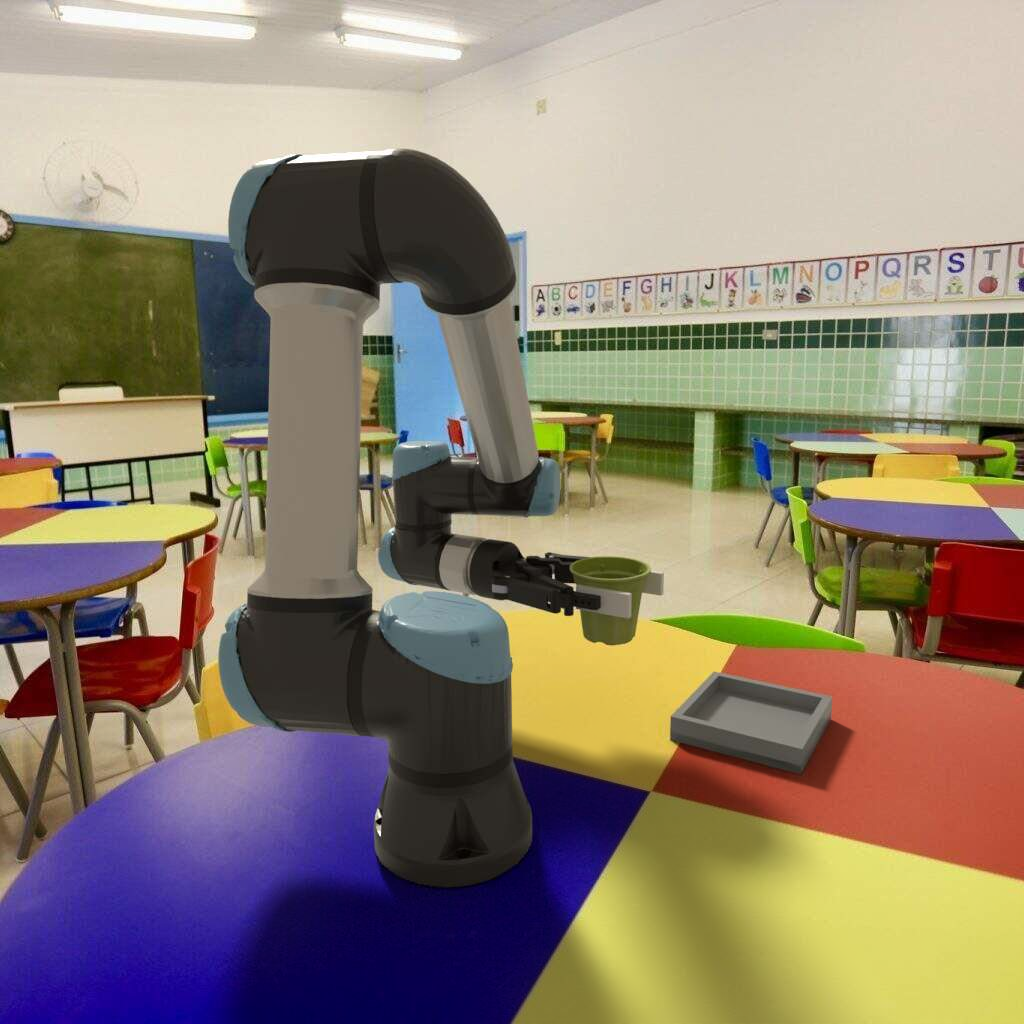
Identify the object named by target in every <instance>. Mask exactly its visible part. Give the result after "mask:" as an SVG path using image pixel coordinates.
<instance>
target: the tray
mask: <svg viewBox="0 0 1024 1024" xmlns="http://www.w3.org/2000/svg"><path fill="white" fill-rule="evenodd" d="M832 711H833V695H832V696H831V695H826V694H822V693H818V692H817V693H816V692H813V691H807V690H802V689H799V688H794V687H793V688H792V687H789V686H785V685H780V684H779V685H778V684H774V683H769V682H765V681H760V680H755V679H751V678H746V677H742V676H738V675H734V674H733V675H732V674H728V673H723V672H718V671H713V672H712V673H711V674H710V675H709V676H708V677H707V678H706V679H705V680H704V681H703V682H702V683H701V684H700V685H699V686H698V687H697V688H696V689H695V691H694V692H692V693H691V695H689V697H687V699H685V701H684V702H683V703H682V704H681V705H680V706H679V707H678V708H677V709H676V710H675V711H674V712H673V713H672V714H671V715H670V727H669V728H670V729H669V735H670V736H669V740H670V741H674V742H678V743H681V744H684V745H689V746H692V747H696V748H700V749H704V750H708V751H711V752H715V753H719V754H722V755H726V756H729V757H734V758H737V759H741V760H744V761H749V762H753V763H756V764H761V765H764V766H766V767H771V768H775V769H778V770H782V771H783V770H784V771H787V772H791V773H794V774H797V775H802V773H803V772H804V769H805V767H806V765H807V764H808V763H809V760H810V759H811V757H812V754H813V753H814V751H815V749H816V748H817V745H818V744H819V742H820V740H821V738H822V736H823V735H824V733H825V732H826V729H827V727H828V726H829V724H830V723H831V720H832Z"/></svg>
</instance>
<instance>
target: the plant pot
mask: <svg viewBox="0 0 1024 1024" xmlns="http://www.w3.org/2000/svg"><path fill="white" fill-rule="evenodd" d="M589 557H590V558H584V559H581V560H577V561H575V562H573V563H572V564H571V565H570V572H571V573H572V574H573V577H574V582H575V586H577V585H585V586H591V587H597V588H603V589H609V590H615V591H622V592H628V593H632V600H631V617H630V618H629V619H628V618H622V617H617V616H612V615H606V614H601V613H595V612H590V611H584V610H579V613H580V620H581V621H580V622H581V629H582V635H583V638H584V639H585V640H586V641H589V642H590V643H593V644H596V643H602V644H604V645H606V646H619V645H626V644H628V643H631V641H632V640H633V639H634V638H635V637H636V631H637V625H638V620H639V619H638V618H639V614H640V607H641V600H642V595H643V593H642V590H643V586H644V585H645V583H646V578H647V576H648V575H649V574H650V572H651V570H652V568H651V566H650V564H648V563H647V562H646V561H644V560H640V559H636V558H631V557H626V556H618V555H617V556H614V555H605V556H589Z"/></svg>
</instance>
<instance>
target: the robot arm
mask: <svg viewBox="0 0 1024 1024" xmlns="http://www.w3.org/2000/svg"><path fill="white" fill-rule="evenodd" d="M229 204H230V205H229V210H228V221H227V222H228V223H227V224H228V225H227V226H228V227H227V229H228V230H227V231H228V232H227V233H228V240H229V247H230V249H232V250H234V255H233V258H232V260H233V262H234V265H235V267H236V268H237V270H238V272H239V273H240V275H241V277H243V279H244V280H245V281H246V282H247V283H249V284H250V285H252V286H254V290H253V295H254V296H253V297H254V300H255V301H256V302H257V303H258V304H259V305H260V307H262V308H263V310H265V312H266V313H267V314H268V315H269V318H270V329H269V330H270V333H269V366H268V367H269V370H268V371H269V372H268V374H269V375H268V381H269V382H268V413H267V415H268V416H267V417H268V420H267V421H268V422H267V456H266V457H267V460H266V462H267V463H266V495H265V496H266V503H265V505H266V506H265V514H266V515H265V544H264V545H265V547H264V554H265V555H264V570H263V572H262V573H261V574H260V575H259V576H258V577H257V579H255V581H253V582H252V584H250V585H249V587H247V595H246V596H247V598H246V599H247V600H246V601H247V602H246V603H244V604H243V605H240V606H238V607H237V608H236V609H234V610H233V612H231V614H230V615H229V616H228V617H227V621H226V622H225V624H224V628H225V632H223V633H222V634H221V636H220V641H219V647H218V654H217V655H218V657H217V659H218V672H219V673H218V674H219V679H220V684H221V687H222V691H223V694H224V696H225V699H226V701H227V702H228V704H229V705H230V706H229V707H231V709H232V710H233V711H235V712H236V713H237V715H238V716H239V718H240V719H242V720H243V721H245V722H246V723H248V724H251V725H254V726H260V727H265V728H266V727H267V728H270V729H271V728H272V729H276V730H278V731H281V732H288V733H293V732H296V731H297V732H299V731H301V732H311V733H321V734H322V733H323V734H330V735H342V736H356V737H367V738H368V737H370V738H379V739H385V740H386V742H387V743H386V744H387V749H388V750H387V751H388V752H387V753H388V770H387V774H386V777H385V780H384V783H383V784H384V785H383V788H382V791H381V794H380V798H379V801H378V804H377V805H378V806H377V809H376V812H375V815H374V819H373V820H374V821H373V839H374V841H373V842H374V850H375V854H376V857H377V856H378V857H377V859H378V858H379V859H378V860H379V862H380V863H381V865H382V866H383V865H384V866H385V867H386V868H388V869H389V870H390V871H392V872H393V873H394V874H395V875H394V874H393V873H392V874H393V875H394V876H396V875H397V876H396V877H398V876H399V877H398V878H400V877H401V878H400V879H402V878H404V879H406V880H405V881H407V880H409V881H411V882H410V883H412V881H413V882H416V883H418V884H417V885H420V884H424V885H423V886H425V885H431V886H430V887H432V886H437V887H436V888H458V887H465V886H466V887H467V886H472V885H477V884H480V883H484V882H487V881H490V880H493V879H495V878H497V877H499V876H501V875H503V874H504V873H503V872H505V871H507V870H508V869H510V868H511V867H512V866H514V865H515V864H516V865H518V864H519V863H518V862H519V861H520V860H521V858H522V857H523V858H524V857H525V856H526V855H525V854H527V853H528V851H529V850H528V849H530V848H529V847H531V846H532V845H531V844H532V841H533V814H532V809H531V805H530V803H529V801H528V798H527V796H526V795H525V792H524V789H523V786H522V781H521V780H520V777H519V774H518V771H517V768H516V766H515V762H514V758H513V755H514V753H513V712H512V711H513V709H512V708H513V707H512V706H513V705H512V703H513V700H512V699H513V698H512V693H513V692H512V673H513V668H514V663H513V658H512V657H511V655H512V654H511V648H510V647H511V646H510V635H509V628H508V626H507V623H506V620H505V619H504V617H503V616H502V615H501V614H500V613H499V611H497V610H496V609H494V608H493V607H492V606H490V605H489V604H488V603H485V602H483V601H481V600H479V599H476V598H473V597H470V595H472V596H478V597H481V598H486V599H491V600H496V601H510V602H514V603H517V604H520V605H524V606H527V607H531V608H534V609H537V610H540V611H543V612H548V613H551V614H560V613H561V612H562V609H563V616H565V617H573V616H574V613H575V611H574V609H576V610H578V611H580V610H584V611H590V612H595V613H601V614H606V615H612V616H617V617H622V618H628V619H629V618H630V617H631V600H632V593H628V592H622V591H615V590H609V589H603V588H597V587H591V586H585V585H576V584H575V582H574V577H573V574H572V573H571V572H570V565H571V564H572V563H573V562H575V561H577V560H581V559H584V558H590V557H591V556H581V555H570V554H560V553H556V552H550V551H549V552H545V553H544V557H541V556H538V555H528V556H526V557H525V556H523V554H522V552H521V551H520V549H519V547H518V545H516V544H515V543H514V542H511V541H506V540H499V539H491V538H490V539H487V538H485V537H479V536H474V535H473V536H472V535H464V534H456V533H455V534H454V533H453V532H452V515H466V516H467V515H470V516H471V515H474V516H476V515H477V516H494V517H495V516H500V517H517V518H519V517H520V518H522V517H523V518H525V519H527V518H529V517H550V516H552V515H555V513H556V512H557V510H558V507H559V504H560V501H561V500H560V498H561V489H562V488H561V487H562V484H561V470H560V465H559V464H558V462H557V460H556V459H554V458H545V457H543V456H539V450H538V446H537V441H536V433H535V429H534V423H533V422H534V421H533V419H532V418H533V417H532V413H531V407H530V406H531V405H530V402H529V401H530V400H529V396H528V390H527V385H526V379H525V374H524V369H523V364H522V358H521V353H520V347H519V342H518V335H517V332H516V326H515V320H514V314H513V310H512V309H513V308H512V305H511V304H512V303H511V299H510V298H511V296H512V295H513V293H514V291H515V289H516V288H517V287H516V286H517V274H516V268H515V262H514V258H513V253H512V248H511V246H510V243H509V241H508V238H507V235H506V234H505V231H504V228H503V227H502V225H501V223H500V222H499V219H498V217H497V216H496V215H495V213H494V211H493V210H492V208H491V207H490V205H489V204H488V203H487V201H486V200H485V198H484V197H483V196H482V194H480V192H479V191H478V190H477V189H476V188H475V187H474V186H473V185H472V184H471V182H469V181H468V180H467V179H466V178H465V176H463V175H462V174H461V173H460V172H459V171H457V170H456V169H455V168H453V167H452V166H451V165H449V164H448V163H446V162H445V161H443V160H441V159H440V158H438V157H436V156H433V155H431V154H429V153H425V152H423V151H419V150H417V149H410V148H390V149H389V148H388V149H386V150H378V151H377V150H376V151H375V150H373V151H361V152H360V151H358V152H347V153H345V152H344V153H331V154H330V153H329V154H316V155H315V154H314V155H312V154H311V155H305V154H299V153H298V154H297V153H296V154H295V153H294V154H290V155H287V156H283V157H282V158H274V159H267V160H262V161H259V162H257V163H255V164H253V165H252V166H251V168H248V169H247V170H246V171H245V172H244V173H243V174H242V176H241V177H240V179H239V180H238V181H237V184H236V185H235V188H234V191H233V193H232V196H231V200H230V203H229ZM405 282H406V283H411V284H414V285H415V286H417V287H418V289H419V292H420V295H421V299H422V301H423V303H424V305H425V307H426V308H428V309H429V310H430V312H433V313H435V314H436V315H437V317H438V322H439V325H440V329H441V333H442V336H443V339H444V342H445V343H444V344H445V346H446V350H447V353H448V357H449V361H450V365H451V368H452V372H453V376H454V379H455V382H456V385H457V389H458V393H459V397H460V400H461V405H462V408H463V411H464V414H465V418H466V422H467V426H468V429H469V432H470V437H471V440H472V443H473V447H474V450H475V454H476V457H474V456H473V457H469V456H468V457H465V456H462V457H461V456H451V452H450V449H449V448H450V447H449V445H448V444H447V443H446V442H444V441H438V440H437V441H436V440H414V441H413V440H412V441H405V442H401V443H399V444H397V445H396V446H395V447H394V448H393V452H392V477H391V481H392V489H393V491H392V493H393V494H392V495H393V507H394V508H393V509H394V521H395V524H394V526H393V527H391V528H390V529H388V530H386V532H385V533H384V534H383V536H382V538H381V539H380V543H381V544H380V548H379V549H378V550H377V551H378V552H377V557H378V558H377V561H378V564H379V566H380V570H382V572H383V574H385V576H387V577H388V578H390V579H392V580H395V581H400V582H402V583H406V584H408V585H411V586H421V587H426V588H427V587H428V588H432V589H433V588H434V589H439V590H445V591H449V592H445V591H434V590H433V591H431V590H430V591H429V590H427V591H423V592H422V593H418V592H414V591H412V592H407V593H402V594H399V595H395V596H393V597H391V598H389V599H388V600H386V601H385V602H384V604H383V605H382V607H381V608H380V610H375V609H373V592H374V591H373V587H372V586H371V585H370V584H369V583H368V582H367V580H366V579H364V577H363V576H362V575H361V574H360V572H359V570H358V551H359V548H358V547H359V516H360V514H359V512H360V511H359V510H360V509H359V508H360V505H359V504H360V472H361V471H360V470H361V469H360V468H361V467H360V466H361V461H360V460H361V434H362V431H361V430H362V429H361V427H362V392H363V391H362V388H363V387H362V385H363V344H364V343H363V342H364V324H365V323H366V321H367V320H368V319H370V318H371V316H372V315H374V314H375V313H376V312H377V311H378V310H379V309H380V301H381V285H383V284H384V285H385V284H402V283H405ZM553 575H554V578H553ZM664 577H665V572H664V571H658V570H657V571H656V570H653V569H651V572H650V574H649V575H648V576H647V578H646V583H645V585H644V586H643V590H642V594H647V595H648V594H649V595H653V596H660V597H661V596H663V595H664V586H665V585H664V583H665V582H664V581H665V578H664ZM570 584H573V585H574V584H575V590H574V586H572V585H570ZM450 591H451V592H450ZM453 592H457V593H453ZM458 593H461V594H458ZM526 852H527V853H526ZM524 855H525V856H524ZM523 858H522V859H523ZM521 861H522V860H521ZM516 865H515V866H516ZM384 866H383V867H384ZM515 866H514V867H515ZM385 867H384V868H385ZM386 868H385V869H386ZM388 869H387V870H388ZM511 869H512V868H511ZM511 869H510V870H511ZM389 870H388V871H389ZM390 871H389V872H390ZM508 871H509V870H508ZM508 871H507V872H508ZM502 873H503V874H502ZM505 873H506V872H505ZM500 874H501V875H500ZM498 875H499V876H498ZM404 879H403V880H404ZM409 881H408V882H409ZM416 883H415V884H416ZM441 886H443V887H441ZM453 886H454V887H453Z"/></svg>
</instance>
